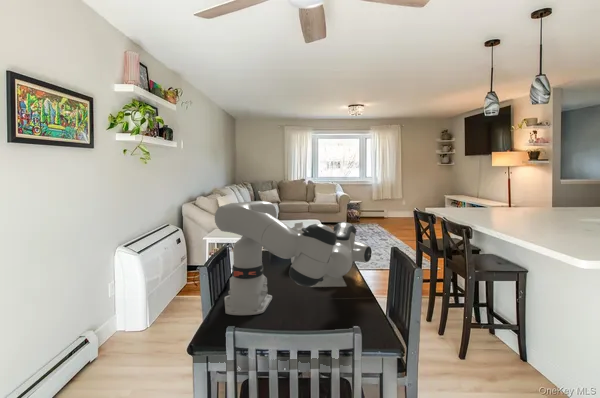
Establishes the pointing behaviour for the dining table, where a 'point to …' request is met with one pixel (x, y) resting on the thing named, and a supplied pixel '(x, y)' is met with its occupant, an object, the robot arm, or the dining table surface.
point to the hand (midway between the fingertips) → (322, 243)
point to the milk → (297, 229)
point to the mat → (331, 282)
